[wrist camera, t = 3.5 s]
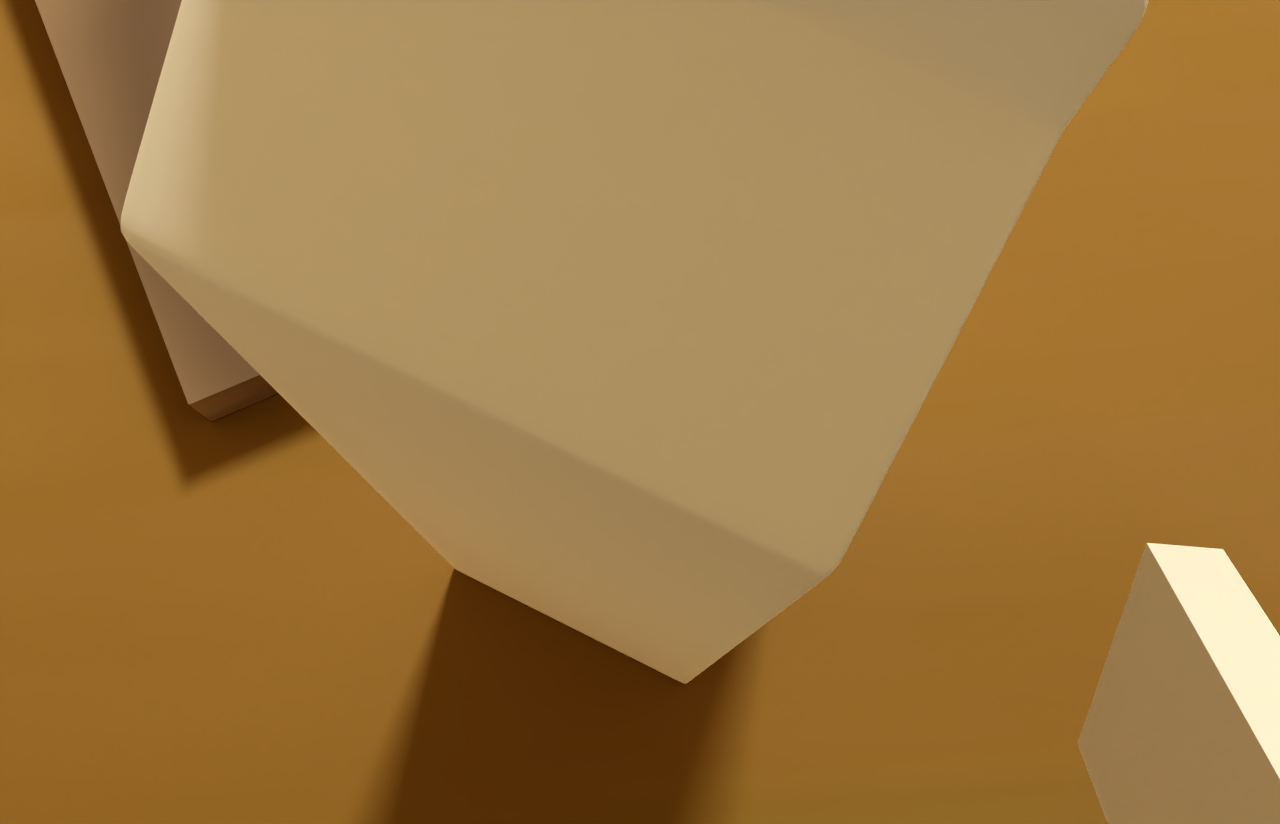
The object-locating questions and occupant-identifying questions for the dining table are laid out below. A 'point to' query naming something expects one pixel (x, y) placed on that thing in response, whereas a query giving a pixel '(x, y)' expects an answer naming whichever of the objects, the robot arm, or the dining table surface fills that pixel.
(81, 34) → the tan board
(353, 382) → the milk
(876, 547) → the dining table surface
